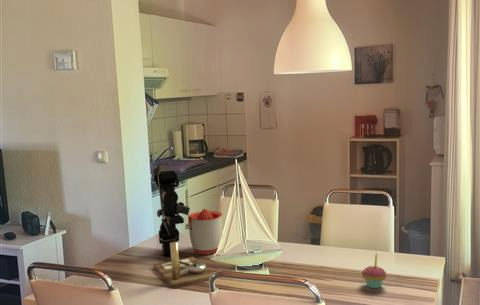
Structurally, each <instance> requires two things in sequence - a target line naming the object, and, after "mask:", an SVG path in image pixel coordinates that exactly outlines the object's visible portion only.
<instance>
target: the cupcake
mask: <svg viewBox="0 0 480 305" xmlns="http://www.w3.org/2000/svg"><path fill="white" fill-rule="evenodd" d="M377 260H378V255H377V252H375V254H374V265H372V266H371V265H370V266H367V267H365V268H364V269H363V270H362V272H361V276H362V278H363V279H364V280H365V283H366V286H367V287H368V288H369V287H371V288H370V289H373V288H377V289H380V288H381V287H382V284H383V282H384V280H386V279H387V272H386V271H385V270H384V268H382V267H379V266H377V264H378V263H377V262H378V261H377ZM379 287H380V288H379Z"/></svg>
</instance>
